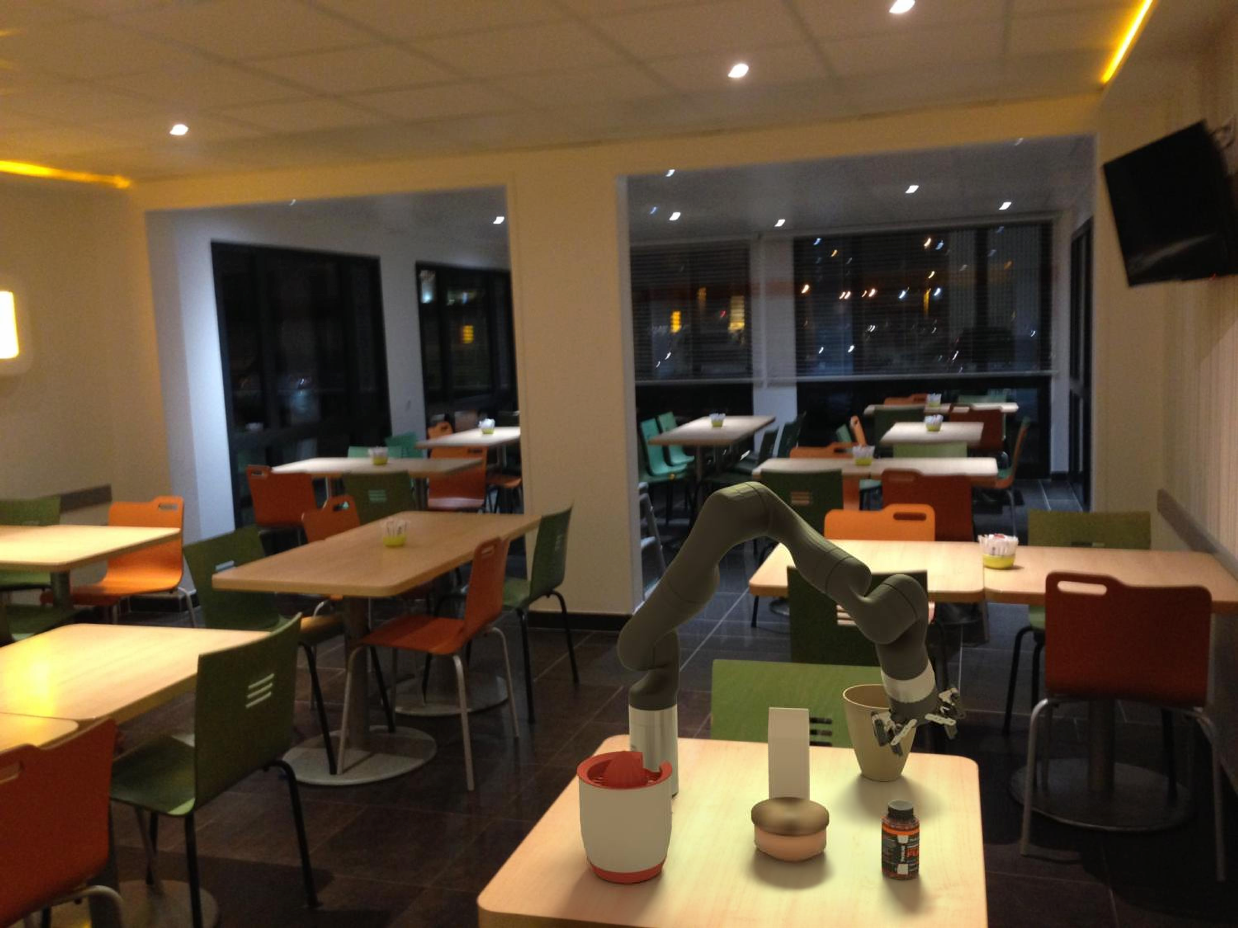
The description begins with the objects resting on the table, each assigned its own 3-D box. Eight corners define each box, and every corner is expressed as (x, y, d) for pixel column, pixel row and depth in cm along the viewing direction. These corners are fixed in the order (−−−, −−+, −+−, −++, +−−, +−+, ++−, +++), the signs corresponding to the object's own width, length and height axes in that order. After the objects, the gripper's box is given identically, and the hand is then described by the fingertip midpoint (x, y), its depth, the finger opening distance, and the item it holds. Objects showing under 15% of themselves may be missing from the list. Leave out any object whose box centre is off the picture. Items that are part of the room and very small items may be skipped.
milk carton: (808, 818, 193) (807, 715, 191) (768, 815, 194) (767, 714, 192) (809, 801, 200) (809, 702, 198) (771, 799, 201) (770, 701, 199)
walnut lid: (757, 837, 174) (757, 831, 173) (745, 803, 186) (745, 798, 186) (837, 834, 174) (837, 828, 174) (819, 800, 187) (819, 795, 187)
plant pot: (909, 794, 201) (909, 712, 200) (833, 780, 209) (832, 701, 207) (929, 766, 214) (929, 689, 212) (856, 754, 222) (856, 679, 220)
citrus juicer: (701, 861, 178) (699, 745, 175) (628, 902, 165) (624, 777, 163) (633, 833, 189) (630, 723, 186) (560, 869, 176) (555, 752, 174)
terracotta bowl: (760, 868, 175) (760, 836, 174) (749, 835, 187) (748, 804, 186) (834, 865, 175) (833, 833, 174) (817, 832, 187) (817, 802, 186)
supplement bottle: (913, 884, 168) (913, 815, 167) (876, 875, 171) (876, 807, 170) (924, 868, 173) (924, 801, 172) (888, 859, 176) (888, 793, 175)
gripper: (944, 646, 165) (957, 710, 174) (855, 677, 165) (873, 739, 175) (964, 683, 159) (977, 746, 168) (872, 715, 159) (890, 776, 169)
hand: (924, 743), depth 172 cm, fingers open, 8 cm apart
